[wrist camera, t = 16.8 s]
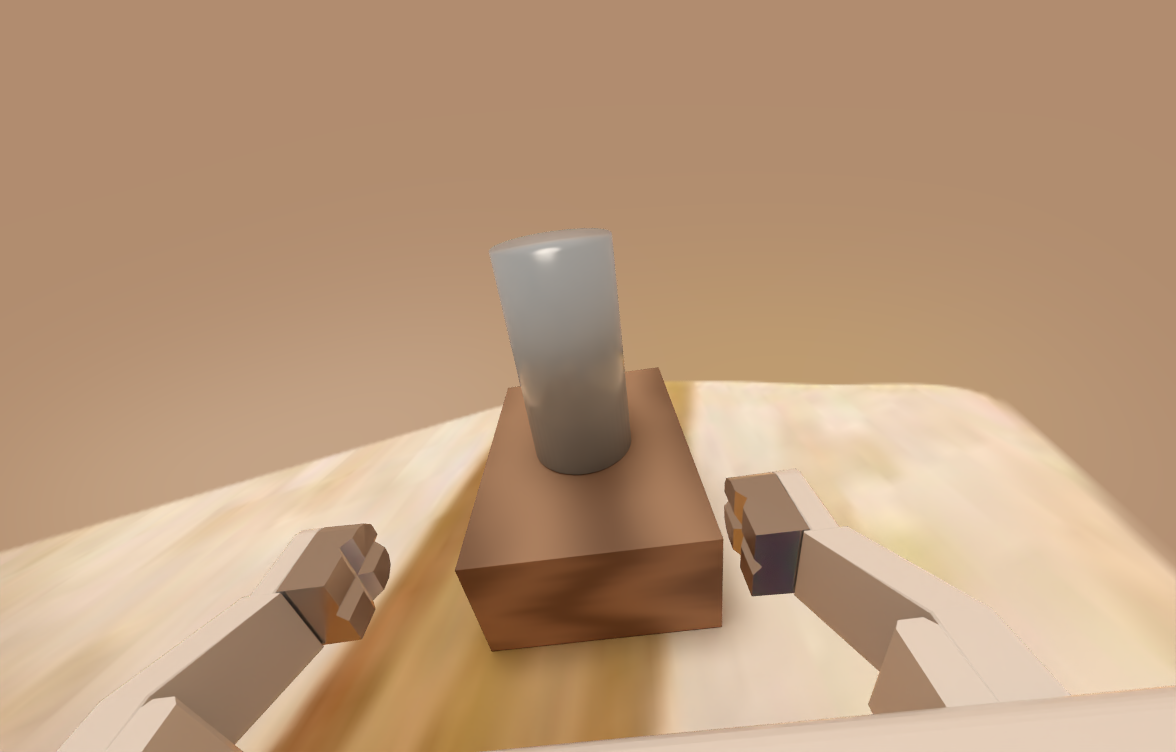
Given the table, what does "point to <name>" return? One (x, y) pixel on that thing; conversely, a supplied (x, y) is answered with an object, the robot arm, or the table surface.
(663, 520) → the walnut block
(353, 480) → the table surface
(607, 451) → the metal cylinder
